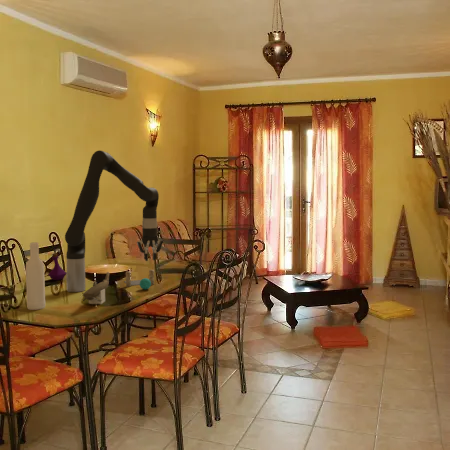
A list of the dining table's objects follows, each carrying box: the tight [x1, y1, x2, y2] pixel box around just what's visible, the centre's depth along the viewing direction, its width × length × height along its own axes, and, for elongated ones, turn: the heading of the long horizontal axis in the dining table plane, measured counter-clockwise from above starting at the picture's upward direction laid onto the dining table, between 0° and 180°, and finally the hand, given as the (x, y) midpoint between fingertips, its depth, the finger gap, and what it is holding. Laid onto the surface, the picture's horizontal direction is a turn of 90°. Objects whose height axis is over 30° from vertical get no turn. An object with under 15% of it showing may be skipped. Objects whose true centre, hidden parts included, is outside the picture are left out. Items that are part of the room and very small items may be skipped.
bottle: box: [25, 242, 46, 311], centre depth 238 cm, size 8×8×30 cm
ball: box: [139, 277, 152, 290], centre depth 278 cm, size 6×6×6 cm
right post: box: [148, 269, 155, 286], centre depth 290 cm, size 3×3×8 cm
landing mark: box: [123, 279, 142, 287], centre depth 295 cm, size 12×12×1 cm
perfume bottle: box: [47, 248, 67, 281], centre depth 303 cm, size 8×8×18 cm
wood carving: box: [82, 271, 110, 305], centre depth 251 cm, size 9×35×11 cm, turn 175°
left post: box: [125, 271, 132, 288], centre depth 285 cm, size 3×3×8 cm
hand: (150, 260), depth 267 cm, fingers open, 3 cm apart
